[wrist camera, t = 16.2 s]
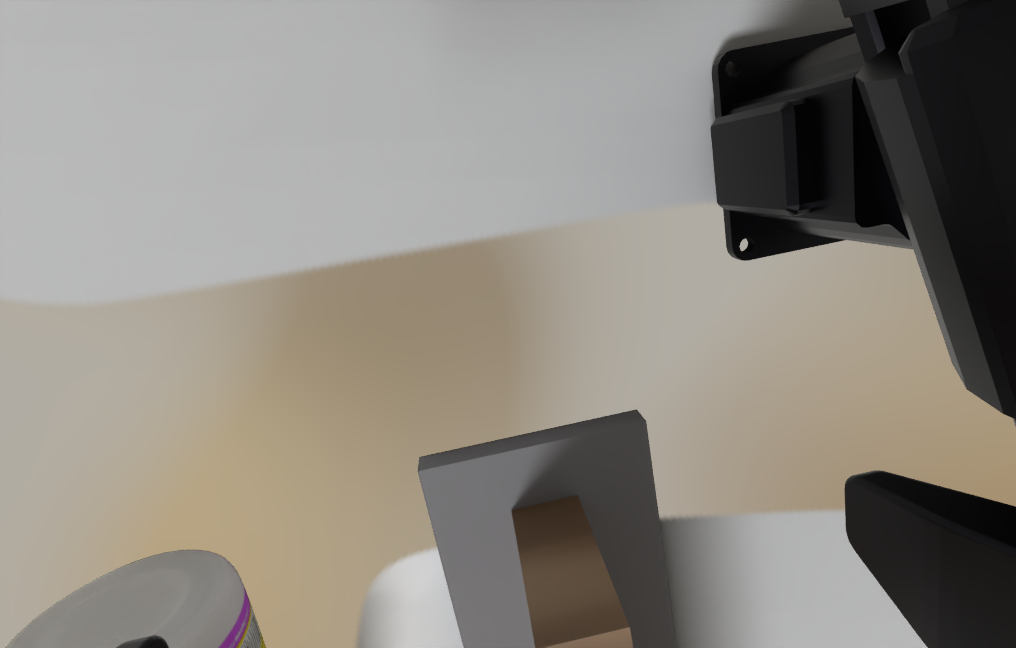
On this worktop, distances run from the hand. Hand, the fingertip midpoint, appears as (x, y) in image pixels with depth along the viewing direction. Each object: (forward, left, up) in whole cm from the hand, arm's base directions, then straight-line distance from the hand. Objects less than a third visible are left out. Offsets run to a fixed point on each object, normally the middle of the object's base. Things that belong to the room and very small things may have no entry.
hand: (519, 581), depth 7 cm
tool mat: (-1, +15, -12) cm, 19 cm away
